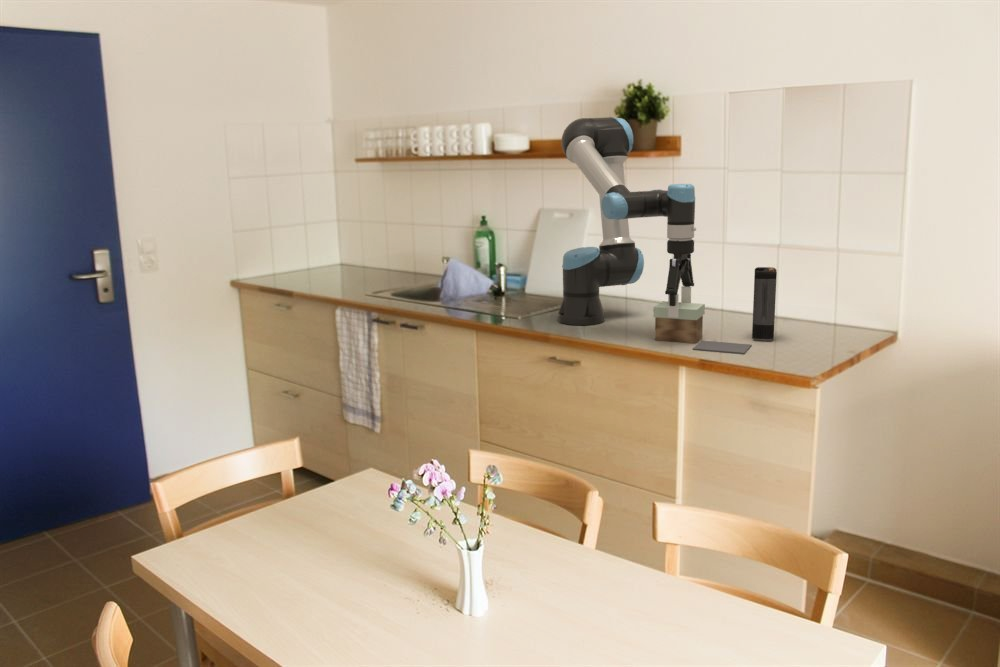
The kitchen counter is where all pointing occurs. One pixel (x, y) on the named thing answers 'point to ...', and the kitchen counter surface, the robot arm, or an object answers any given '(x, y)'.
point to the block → (681, 310)
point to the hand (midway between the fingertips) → (679, 312)
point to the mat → (722, 347)
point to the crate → (678, 330)
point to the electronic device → (764, 304)
